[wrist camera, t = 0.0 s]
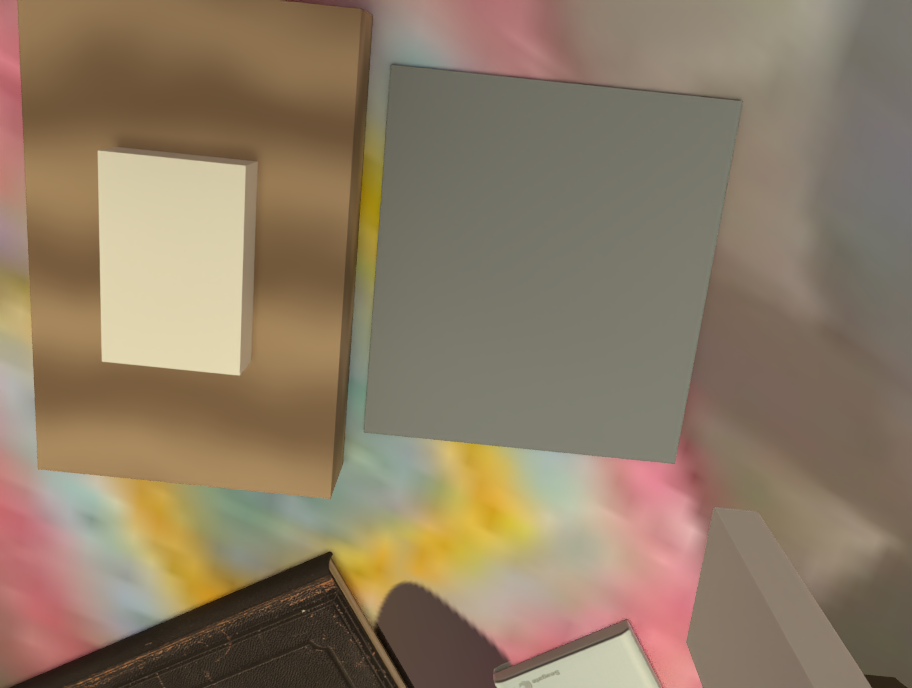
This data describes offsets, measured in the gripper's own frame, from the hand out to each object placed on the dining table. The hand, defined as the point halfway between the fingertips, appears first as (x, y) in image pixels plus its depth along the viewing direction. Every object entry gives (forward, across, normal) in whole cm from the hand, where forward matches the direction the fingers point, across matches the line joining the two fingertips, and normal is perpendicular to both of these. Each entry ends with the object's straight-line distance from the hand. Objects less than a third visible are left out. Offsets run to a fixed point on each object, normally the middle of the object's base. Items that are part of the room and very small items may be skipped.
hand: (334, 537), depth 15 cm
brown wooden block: (+28, -10, -1) cm, 30 cm away
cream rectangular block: (+24, -10, -1) cm, 26 cm away
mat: (+28, +6, -1) cm, 29 cm away
